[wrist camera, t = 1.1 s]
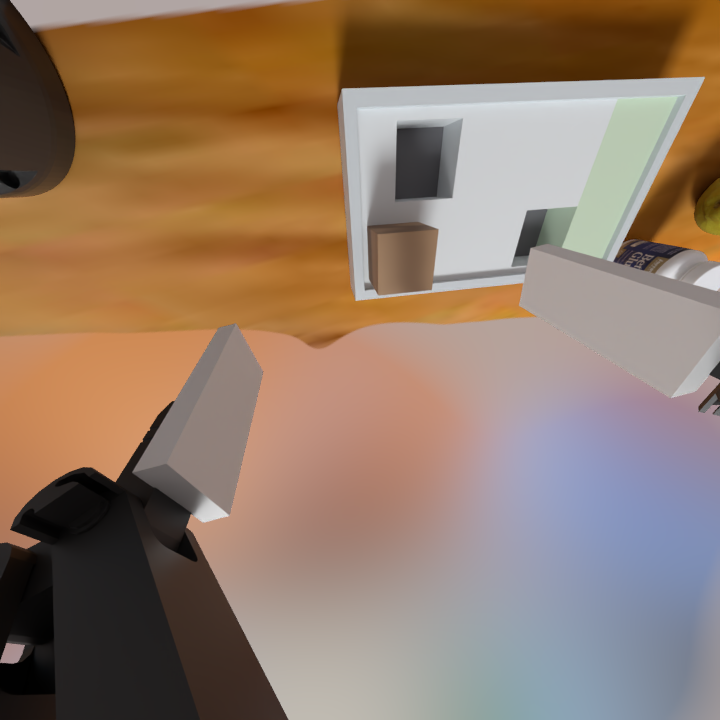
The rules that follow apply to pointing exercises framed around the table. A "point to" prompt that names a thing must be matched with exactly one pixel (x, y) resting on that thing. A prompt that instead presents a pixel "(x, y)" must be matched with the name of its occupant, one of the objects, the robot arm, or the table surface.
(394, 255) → the walnut block
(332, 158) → the table surface
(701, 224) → the lemon
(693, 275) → the pill bottle
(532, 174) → the board
